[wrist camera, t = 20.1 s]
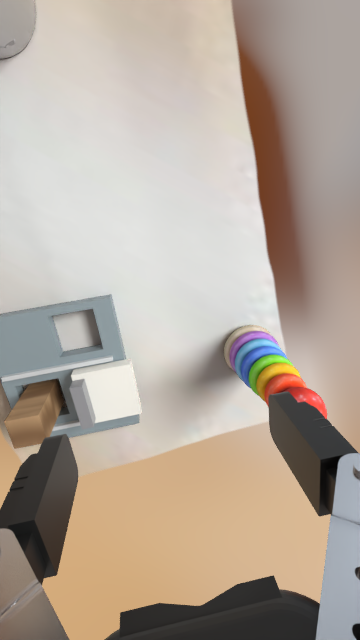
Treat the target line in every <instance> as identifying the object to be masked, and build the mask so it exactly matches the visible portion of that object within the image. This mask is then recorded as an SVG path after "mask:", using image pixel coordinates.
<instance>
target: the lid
mask: <svg viewBox="0 0 360 640" xmlns="http://www.w3.org/2000/svg"><path fill="white" fill-rule="evenodd" d="M71 377H72V384H71V386H70V388H69V389H70V392H71V395H72V399H73V402H74V405H75V408H76V412H77V415H78V418H79V421H80V425H81V428H82V429H87V428H92V427H94V424H95V423H98V422H103V421H108V420H113V419H118V418H123V417H127V416H132V415H137V414H142V406H141V402H140V397H139V393H138V388H137V384H136V379H135V375H134V370H133V366H132V361H131V359H126V360H120V361H115V362H110V363H105V364H100V365H94V366H89V367H84V368H79V369H74V370H73V372H72V374H71Z"/></svg>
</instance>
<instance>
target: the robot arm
mask: <svg viewBox="0 0 360 640" xmlns="http://www.w3.org/2000/svg"><path fill="white" fill-rule="evenodd" d="M35 22H36V8H35V2H34V0H0V58H7V57H11V56H14V55H16V54H17V53H19V52H21V51H22V50H23V49H24V48H25V47H26V46H27V44H28V43H29V41H30V39H31V38H32V35H33V32H34V29H35ZM268 402H269V425H270V432H271V435H272V438H273V440H274V442H275V444H276V446H277V448H278V449H279V451H280V452H281V454H282V456H283V458H284V459H285V461H286V462H287V464H288V466H289V467H290V469H291V471H292V473H293V474H294V476H295V477H296V479H297V481H298V482H299V484H300V486H301V487H302V489H303V491H304V492H305V494H306V496H307V497H308V499H309V501H310V502H311V504H312V506H313V507H314V509H315V510H316V512H317V514H318V516H323V515H328V514H331V518H330V526H329V534H328V542H327V550H326V560H325V567H324V575H323V583H322V592H321V600H320V604H319V603H318V602H316V601H314V600H312V599H310V598H308V597H306V596H304V595H301V594H298V593H296V592H292V591H287V590H279V588H278V586H277V583H276V580H275V578H274V576H270V577H265V578H261V579H257V580H253V581H249V582H245V583H240V584H237V585H235V586H234V587H232V588H230V589H229V590H227V591H225V592H224V593H222V594H220V595H219V596H217V597H215V598H214V599H212V600H210V601H209V602H207V603H205V604H204V605H201V606H190V605H176V604H163V603H158V604H154V605H150V606H146V607H142V608H138V609H134V610H129V611H125V612H121V613H120V629H119V630H117V631H115V632H114V633H112V634H111V635H110V636H109V637H107V638H106V639H105V640H360V454H359V453H358V452H357V451H356V450H355V449H354V448H353V447H352V446H351V445H350V444H349V442H348V441H347V440H346V439H345V438H344V437H343V436H342V435H341V434H340V433H339V432H338V431H337V430H336V429H335V427H334V426H332V425H331V423H330V422H329V421H328V420H327V419H325V417H324V416H323V414H322V413H321V412H320V411H319V410H318V409H317V408H316V407H314V406H312V405H310V404H308V403H307V402H305V401H303V402H297V400H296V399H295V398H294V397H293V396H292V395H291V393H290V392H288V391H286V392H281V393H276V394H271V395H269V398H268ZM77 482H78V468H77V464H76V460H75V457H74V454H73V451H72V448H71V444H70V441H69V438H68V436H67V435H66V434H62V435H56V436H51V437H46V438H44V440H43V442H42V445H41V447H40V449H39V452H38V453H37V454H32V455H30V456H29V457H28V459H27V460H26V461H25V462H24V463H23V464H22V465H21V466H20V468H19V470H18V473H17V475H16V477H15V481H14V482H13V483H12V486H11V488H10V492H8V494H7V496H6V498H5V500H4V503H3V505H2V507H1V509H0V640H69V638H68V636H67V634H66V632H65V630H64V628H63V626H62V625H61V623H60V621H59V619H58V617H57V615H56V613H55V611H54V609H53V607H52V605H51V603H50V601H49V599H48V597H47V595H46V593H45V591H44V589H43V587H42V582H43V579H44V578H47V577H51V576H56V575H57V572H58V568H59V563H60V559H61V554H62V549H63V545H64V541H65V536H66V532H67V527H68V523H69V518H70V514H71V509H72V505H73V501H74V496H75V492H76V487H77Z"/></svg>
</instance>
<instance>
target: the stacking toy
mask: <svg viewBox="0 0 360 640" xmlns="http://www.w3.org/2000/svg"><path fill="white" fill-rule="evenodd" d="M224 357H225V360H226V363H227V364H228V366H229V367H230V368H231V369H232V370H233V371H235V372H236V373H237V375H238V376H239V378H240V379H241V380H242V381H244V382H245V384H246V385H247V386H248V387H250V388H251V389H252V390H253V391H254V392H255V393H256V394H257V395H258V396H260V397H261V398H262V399H263V400H264V401H265V402H266V403H267V405H268V407H269V402H268V398H269V395H271V394H276V393H281V392H286V391H288V392H290V393H291V395H292V396H293V397H294V398H295V399H296V400H297V402H303V401H305V402H307V403H308V404H310V405H312V406H314V407H316V408H317V409H318V410H319V411H320V412H321V413H322V414H323V416H324V417H325V419H327V410H326V406H325V404H324V402H323V400H322V399H321V397H320V396H319V395H318V394H317V393H315V392H314V391H312V390H310V389H308V388H307V387H306V384H305V382H304V381H303V380H302V379H301V377H300V374H299V372H298V371H297V369H296V368H295V367H293V365H292V363H291V362H290V361H289V360H288V359H287V357H286V355H285V354H284V353H283V352H282V350H281V349H280V347H279V345H278V343H277V341H276V340H275V339H274V338H273V337H272V335H271V334H270V333H269V332H268V331H267V330H266V329H264V328H262V327H260V326H256V325H248V326H244V327H241V328H239V329H237V330H236V331H234V332H233V333H232V334H231V335H230V337H229V338H228V340H227V342H226V344H225V348H224Z"/></svg>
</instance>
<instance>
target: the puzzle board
mask: <svg viewBox="0 0 360 640" xmlns="http://www.w3.org/2000/svg"><path fill="white" fill-rule="evenodd" d="M87 309H93V311H94V315H95V318H96V322H97V326H98V330H99V334H100V338H101V342H102V345H96V346H91V347H86V348H80V349H75V350H70V351H64V352H63V350H62V347H61V343H60V340H59V337H58V333H57V330H56V327H55V323H54V320H53V317H52V316H54V315H59V314H65V313H71V312H76V311H82V310H87ZM120 360H126V356H125V352H124V347H123V343H122V339H121V334H120V330H119V325H118V321H117V317H116V312H115V308H114V304H113V299H112V295H105V296H100V297H94V298H88V299H83V300H77V301H71V302H66V303H60V304H54V305H49V306H43V307H37V308H32V309H26V310H20V311H15V312H9V313H3V314H0V380H1V383H2V386H3V388H4V391H5V393H6V396H7V398H8V401H9V404H10V406H11V409H13V408H14V406H15V404H16V403H17V401H18V400H19V398H20V397H21V395H22V394H23V392H24V389H23V386H22V385H26V384H31V383H36V382H41V381H46V380H51V379H57V378H59V382H60V385H61V388H62V391H63V394H64V397H65V400H66V404H67V407H65V408H61V410H60V413H59V415H58V418H57V420H56V423H55V425H54V428H53V430H52V433H51V435H50V437H51V436H56V435H62V434H66V435H67V436H68V438H70V437H74V436H79V435H84V434H89V433H94V432H99V431H103V430H108V429H113V428H118V427H123V426H127V425H132V424H137V423H139V414H137V415H132V416H127V417H123V418H118V419H113V420H108V421H103V422H98V423H95V424H94V427H92V428H87V429H82V428H81V425H80V421H79V418H78V415H77V412H76V408H75V405H74V402H73V399H72V395H71V392H70V389H69V388H70V386H71V384H72V377H71V374H72V372H73V370H74V369H79V368H84V367H89V366H94V365H100V364H105V363H110V362H115V361H120Z"/></svg>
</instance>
